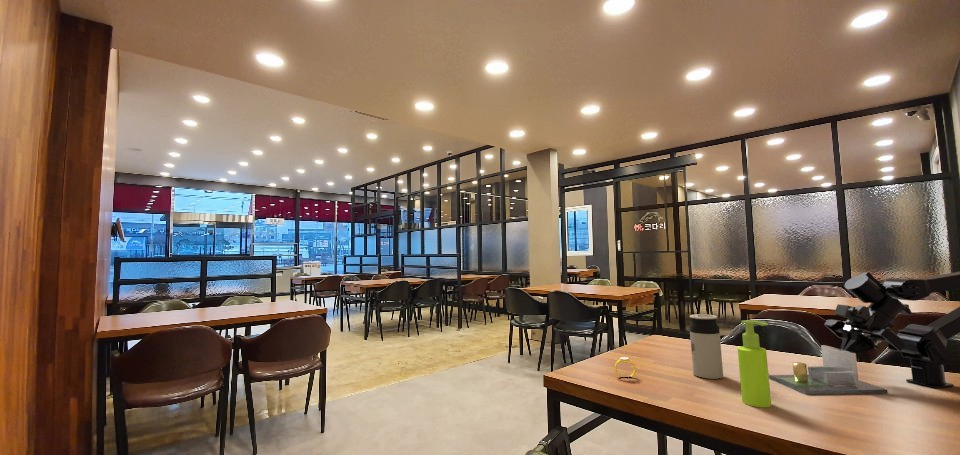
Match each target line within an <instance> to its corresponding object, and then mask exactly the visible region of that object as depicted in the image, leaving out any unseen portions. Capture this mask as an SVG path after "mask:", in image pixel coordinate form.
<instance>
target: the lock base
mask: <svg viewBox="0 0 960 455" xmlns="http://www.w3.org/2000/svg"><path fill="white" fill-rule="evenodd" d="M792 370H793V371H792V373H793V374H768V375H769V380H771V379H772V381H774V382H777V383H779V384H781V385H783V386H785V387H788V388H790V389H792V390H795V391H797V392H799V393H802V394H804V395H811V396H812V395H813V396H815V395H871V394H872V395H876V394H878V395H882V394H883V395H884V394H886V395H888V393H889V392H888V391H889V390H888V389H886V388H883V387H881V386H878V385H875V384H871V383H868V382H866V381H863V380H860V379H859V386H853V385H850V384H833V385H828V384H825V380H824V378H809V374H808V366H807V363H804V362H800V361H799V362H798V361H794V362H793V361H792Z"/></svg>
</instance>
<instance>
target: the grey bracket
mask: <svg viewBox="0 0 960 455" xmlns="http://www.w3.org/2000/svg"><path fill="white" fill-rule="evenodd" d="M820 347H821V357H822V358H821V359H822V365H820V366H819V365H818V366H816V365H815V366H814V365H813V366H809V365H808V366H807V374H808V375H809V378H824V380H825V384H828V385H833V384H850V385H853V386H859V380H860V379H859V373H858V364H857V363H858V361H857V354H856V353H853V352H849V351H845V350H841V349H840V348H836V347H833V346H829V345H825V344H823V345H822V344H821V346H820Z"/></svg>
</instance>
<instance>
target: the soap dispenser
mask: <svg viewBox="0 0 960 455" xmlns="http://www.w3.org/2000/svg"><path fill="white" fill-rule="evenodd" d="M740 323H741V324H744V325H745V332H743V333H742V334H741V335H742V336H741V337H742V346H737V356H738V367H739V368H738V369H739V379H740V392H741V401H742V403H743V404H745V405H748V406H752V407H755V408H756V407H757V408H770V407H771V406H772V399H771V389H770V379H769V375H770V374H769V367H768V366H769V365H768V354H767V348H763V347H761V346H760V336H759V334H758V333H756V332H755V326H754V325H758V326H761V327H765V326H768V325H769V323H767V322H765V321H761V320H753V319H752V320H751V319H750V320H749V319H745V320H741V322H740Z"/></svg>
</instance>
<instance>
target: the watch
mask: <svg viewBox="0 0 960 455" xmlns="http://www.w3.org/2000/svg"><path fill="white" fill-rule="evenodd" d="M621 362H625V363H626V362H630V363H631V364H632V366H633V372H632V373H631V374H630V375H629V376H631V377H632V378H633V377H635V376H636V374H637V368H636V365H635V364H634V362H633V361H632V360H631V359H630V358H629V357H627V356H626V357H625V356H623V357H622V356H621V357H619V359H618V360H616V361H615V364H614V371H615V373H616V375H617V376H618V377H619V376H620V375H621V374H619V372H618V370H617V368H618V365H619V364H620V363H621Z"/></svg>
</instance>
